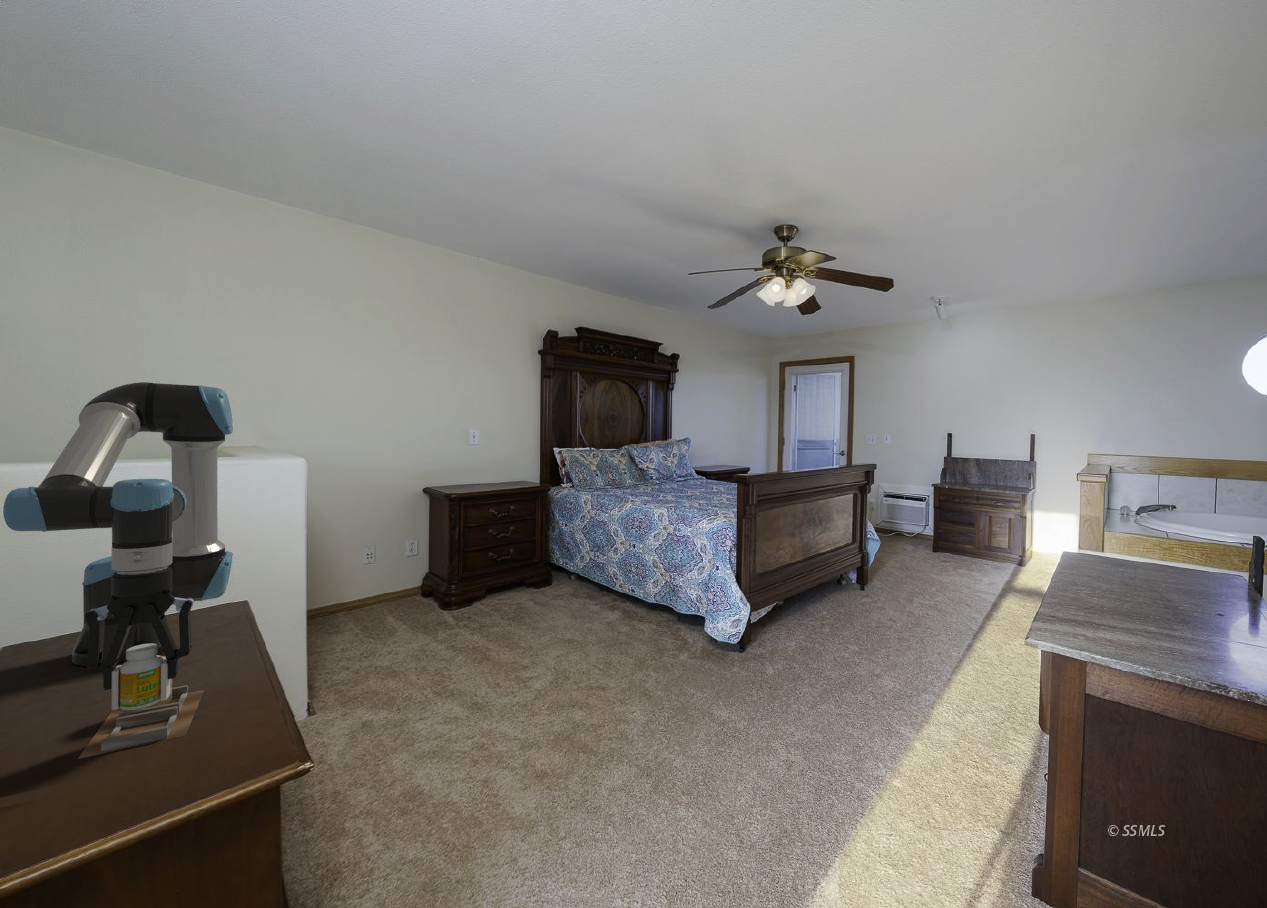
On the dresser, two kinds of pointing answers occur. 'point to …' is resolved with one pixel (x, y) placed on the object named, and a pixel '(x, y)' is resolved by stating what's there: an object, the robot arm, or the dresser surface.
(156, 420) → the robot arm
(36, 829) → the dresser surface
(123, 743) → the board
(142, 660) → the supplement bottle
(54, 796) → the dresser surface
